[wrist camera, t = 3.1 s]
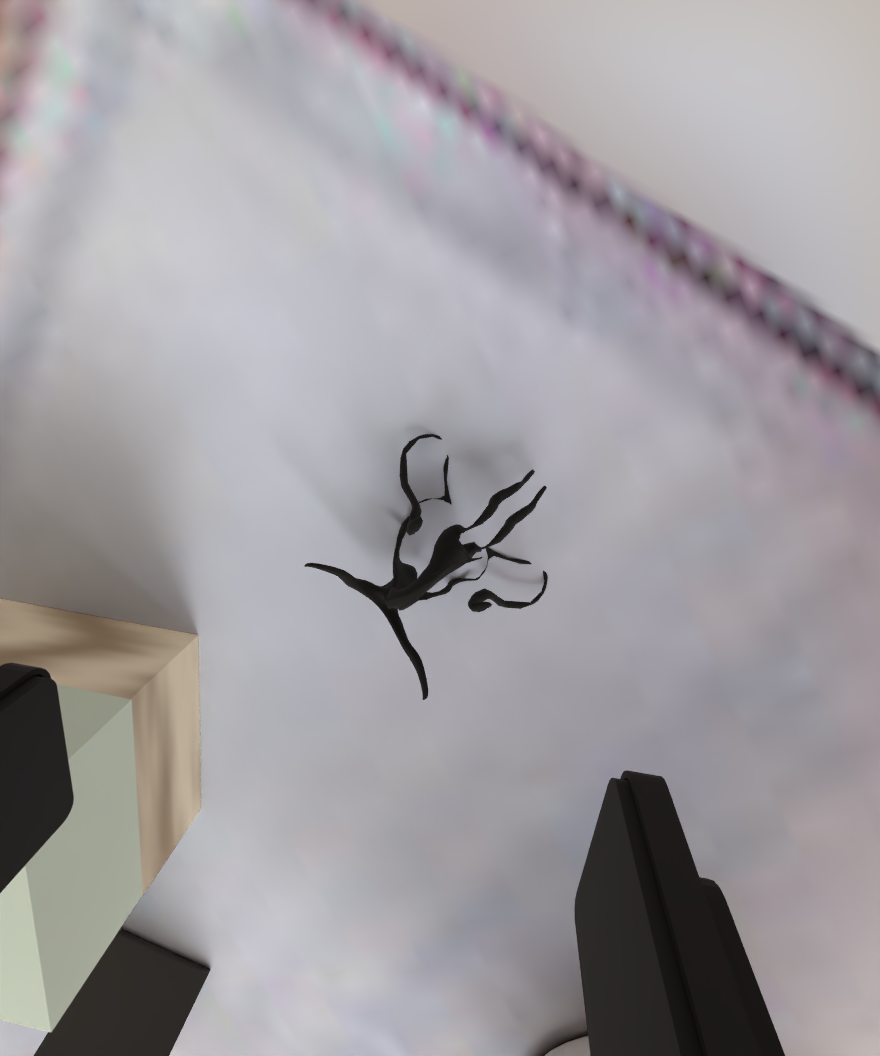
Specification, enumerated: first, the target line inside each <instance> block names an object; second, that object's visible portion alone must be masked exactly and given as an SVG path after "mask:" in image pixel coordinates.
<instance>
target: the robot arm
mask: <svg viewBox="0 0 880 1056" xmlns="http://www.w3.org/2000/svg"><path fill="white" fill-rule="evenodd" d="M73 802H74V795H73V788H72V781H71V775H70V768H69V761H68V755H67V748H66V742H65V735H64V728H63V722H62V715H61V709H60V702H59V695H58V689H57V685H56V682H55V681H54V680H53V679H51V676H50V673H49V672H48V671H47V670H46V669H43V668H39V667H34V666H28V665H22V664H17V663H5V664H3V665H1V666H0V893H1V892H2V891H3V890H4V889H5V888H6V886H7V885H8V884H9V883H10V882H11V881H12V880H13V879H14V877H15V876H16V875H17V874H18V873H19V872H20V871H21V870H22V868H23V867H24V866H25V865H26V864H27V863H28V862H29V861H30V860H31V858H32V857H33V856H34V855H35V854H36V853H37V852H38V851H39V849H40V848H41V847H42V846H43V845H44V844H45V843H46V842H47V841H48V839H49V838H50V837H51V836H52V835H53V834H54V833H55V832H56V830H57V829H58V828H59V827H60V826H61V825H62V824H63V823H64V821H65V820H66V819H67V817H68V815H69V814H70V812H71V809H72V807H73ZM575 925H576V934H577V942H578V951H579V960H580V969H581V977H582V986H583V995H584V1004H585V1013H586V1021H587V1030H588V1036H585V1037H581V1038H578V1039H575V1040H572V1041H569V1042H566V1043H564V1044H562V1045H560V1046H558V1047H557V1048H555V1049H553V1050H551V1051H550V1052H548V1053H547V1054H546V1055H545V1056H785V1054H784V1052H783V1049H782V1046H781V1044H780V1041H779V1039H778V1036H777V1033H776V1031H775V1028H774V1025H773V1023H772V1020H771V1018H770V1015H769V1012H768V1010H767V1007H766V1004H765V1002H764V999H763V997H762V994H761V991H760V989H759V986H758V983H757V981H756V978H755V976H754V973H753V970H752V968H751V965H750V962H749V960H748V957H747V955H746V952H745V949H744V947H743V944H742V941H741V939H740V936H739V934H738V931H737V928H736V926H735V923H734V920H733V918H732V915H731V913H730V910H729V907H728V905H727V902H726V900H725V897H724V895H723V893H722V891H721V889H720V888H719V886H718V885H717V884H716V883H715V882H714V881H713V880H710V879H706V878H701V877H699V875H698V872H697V870H696V867H695V864H694V861H693V858H692V855H691V852H690V850H689V847H688V844H687V841H686V838H685V835H684V832H683V829H682V827H681V824H680V821H679V818H678V815H677V812H676V809H675V806H674V804H673V801H672V798H671V795H670V792H669V789H668V786H667V784H666V782H665V780H664V779H663V778H662V777H661V776H655V775H650V774H644V773H638V772H633V771H624V772H623V773H622V776H621V778H620V779H616V778H611V779H610V781H609V783H608V786H607V790H606V793H605V797H604V800H603V804H602V807H601V810H600V814H599V817H598V821H597V824H596V828H595V831H594V835H593V838H592V841H591V845H590V848H589V852H588V855H587V859H586V862H585V866H584V869H583V873H582V876H581V879H580V883H579V886H578V890H577V894H576V899H575Z"/></svg>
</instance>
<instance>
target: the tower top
mask: <svg viewBox="0 0 880 1056" xmlns="http://www.w3.org/2000/svg"><path fill="white" fill-rule="evenodd" d="M56 685H57V689H58V695H59V702H60V709H61V715H62V722H63V728H64V735H65V742H66V748H67V755H68V761H69V768H70V775H71V781H72V788H73V795H74V802H73V807H72V809H71V812H70V814H69V815H68V817H67V819H66V820H65V821H64V823H63V824H62V825H61V826H60V827H59V828H58V829H57V830H56V832H55V833H54V834H53V835H52V836H51V837H50V838H49V839H48V841H47V842H46V843H45V844H44V845H43V846H42V847H41V848H40V849H39V851H38V852H37V853H36V854H35V855H34V856H33V857H32V858H31V860H30V861H29V862H28V863H27V864H26V865H25V866H24V867H23V868H22V870H21V871H20V872H19V873H18V874H17V875H16V876H15V877H14V879H13V880H12V881H11V882H10V883H9V884H8V885H7V886H6V888H5V889H4V890H3V891H2V892H1V893H0V1020H2V1021H6V1022H10V1023H14V1024H18V1025H22V1026H26V1027H30V1028H34V1029H38V1030H42V1031H46V1032H50V1033H51V1032H52V1031H53V1029H54V1028H55V1026H56V1025H57V1023H58V1022H59V1020H60V1019H61V1017H62V1016H63V1014H64V1013H65V1011H66V1010H67V1008H68V1007H69V1005H70V1004H71V1002H72V1001H73V999H74V998H75V996H76V995H77V993H78V992H79V990H80V989H81V987H82V986H83V984H84V982H85V981H86V979H87V978H88V976H89V975H90V973H91V972H92V970H93V969H94V967H95V966H96V964H97V963H98V961H99V960H100V958H101V957H102V955H103V954H104V952H105V951H106V949H107V948H108V946H109V945H110V943H111V942H112V940H113V939H114V937H115V936H116V934H117V933H118V931H119V930H120V928H121V927H122V925H123V924H124V922H125V921H126V919H127V918H128V916H129V915H130V913H131V912H132V910H133V909H134V907H135V906H136V904H137V903H138V901H139V899H140V898H141V896H142V895H143V889H142V870H141V853H140V836H139V819H138V802H137V784H136V767H135V750H134V733H133V716H132V700H131V699H127V698H122V697H117V696H112V695H107V694H102V693H97V692H92V691H87V690H82V689H78V688H73V687H68V686H63V685H58V684H56Z"/></svg>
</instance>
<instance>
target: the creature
mask: <svg viewBox="0 0 880 1056" xmlns="http://www.w3.org/2000/svg"><path fill="white" fill-rule="evenodd" d="M427 437H435V438H438V439H441V438H440V436H437V435H433V434H425V435H421V436H418V437H416V438H415V439H413V440H411V441H409V443H408V444H407V445H406V446H405V447H404V449H403V452H402V455H401V461H400V480H401V486H402V488H403V490H404V492H405V494H406V495H407V497H408V499H409V500H410V502H411V504H412V511H411V514H410V516H409V517H408V518H407V519H406V520H405V521H404V522H403V523H402V525H401V527H400V530H399V534H398V537H397V541H396V547H395V552H394V559H393V577H394V578H393V579H392V580H391V581H390V582H389V583H388V584H386V585H384V586H381V587H380V586H377V585H375V584H373V583H371V582H368V581H366V580H361V579H357V578H354V577H353V576H352V575H351V574H349V573H348V572H346V571H344V570H341V569H338V568H335V567H331V566H327V565H322V564H317V563H307V564H306V565H305V567H313V568H317V569H320V570H324V571H326V572H329V573H331V574H334V575H336V576H338V577H339V578H340V579H341V580H342V581H343V582H344V583H345V584H346V585H348V586H349V587H351V588H353V589H355V590H357V591H359V592H360V593H362V594H363V595H365V596H366V597H368V598H369V599H370V600H372V601H373V602H374V603H375V604H376V605H377V606H378V607H379V608H380V609H381V611H382V612H383V613H384V615H385V616H386V618H387V619H388V621H389V623H390V625H391V626H392V628H393V630H394V632H395V634H396V636H397V638H398V640H399V642H400V644H401V646H402V647H403V649H404V651H405V652H406V654H407V655H408V657H409V658H410V660H411V662H412V663H413V665H414V667H415V669H416V671H417V673H418V677H419V680H420V683H421V687H422V692H423V700H425V699H426V698H427V697H428V685H427V679H426V675H425V671H424V667H423V663H422V660H421V658H420V656H419V655H418V653H417V652H416V650H415V649H414V648H413V647H412V645H411V644H410V642H409V640H408V638H407V636H406V633H405V630H404V627H403V624H402V621H401V619H400V617H399V614H398V609H399V610H404V609H406V608H408V607H409V606H411V605H412V604H414V603H415V602H417V601H418V600H427V599H429V598H432V597H436V596H439V595H443V594H446V593H448V592H449V591H450V590H451V588H452V587H453V586H454V585H455V584H457V583H459V582H463V581H472V580H478V579H479V578H480V577H481V576H482V574H483V573H484V572H485V570H486V568H487V566H486V568H485V570H484V571H483V572H482V574H481V575H480V576H479V577H478V578H476V579H464V578H457V579H453V580H451V581H450V582H449V583H448V585H447V586H446V587H445V588H444V589H442V590H441V591H438V592H434V593H430V592H427V591H428V590H429V589H430V588H431V587H433V586H434V585H435V584H436V583H437V582H439V581H440V580H441V579H443V578H444V577H445V576H447V575H448V574H450V573H451V572H453V571H454V570H456V569H458V568H459V567H461V566H463V565H464V564H466V563H468V562H471V561H474V560H478V559H481V558H482V557H480V558H472V556H473V555H474V554H475V553H476V552H480V551H481V550H482V549H484V548H486V551H487V555H488V560H489V559H490V558H491V557H493V556H496V557H499V558H503V559H506V560H510V561H513V562H516V563H521V564H532V563H530V562H529V561H525V560H519V559H512V558H507V557H505V556H503V555H501V554H498V553H496V552H494V551H492V550H491V549H489V548H488V547H490V546H492V545H494V544H497V543H499V542H501V541H502V540H503V539H504V538H505V537H506V536H507V535H508V534H509V533H510V531H511V530H512V529H513V528H514V526H515V525H516V524H517V523H518V522H520V521H521V520H523V519H524V518H525V517H526V516H527V515H528V514H529V513H531V512H532V511H533V509H534V508H535V506H536V504H537V502H538V500H539V499H540V497H541V496H542V494H543V493H544V491H545V490H546V488H547V487H546V486H543V487H542V489H541V490H540V491H539V492H538V493H537V494H536V496H535V498H534V499H533V500H532V502H531V503H530V504H529V505H527V506H525V507H524V508H522V509H520V510H519V511H517V512H516V513H514V514H513V515H511V516H510V517H509V518H508V519H507V520H506V522H505V524H504V526H503V527H502V528H501V530H500V531H499V532H498V534H497V535H496V536H495V537H494V539H493V540H492V541H491V542H490V543H489V544H488V545H486V546H485V547H482V548H481V547H479V546H478V545H477V544H476V543H475V542H472V543H468V544H464V545H462V544H461V542H460V541H459V538H460V535H461V533H464V532H465V531H467V530H469V529H471V528H474V527H476V526H478V525H481V524H483V523H484V522H485V521H486V520H487V519H489V518H490V517H491V516H492V515H493V513H494V512H495V511H496V509H497V508H498V505H499V504H500V503H501V502H502V501H503V500H505V499H506V498H508V497H510V496H511V495H513V494H514V493H515V492H516V491H518V490H519V489H520V488H521V487H522V486H523V485H524V484H525V483H526V482H527V481H528V480H529V479H530V477H531V476H532V475H533V474H534V472H535V471H534V470H531V471H530V472H529V473H528V474H527V475H526V476H525V477H524V478H523V480H522V481H521V482H518V483H516V484H514V485H512V486H510V487H508V488H506V489H503V490H501V491H499V492H497V493H496V494H495V495H493V496H492V497H491V498H490V501H489V504H488V506H487V507H486V509H485V510H484V511H483V513H482V514H481V516H480V517H479V518H478V519H477V520H476V521H475V523H474V524H473V525H471V526H470V527H468V528H464V527H463V526H461V525H457V524H456V525H453V526H451V527H449V528H447V529H445V530H444V531H443V532H442V533H441V535H440V536H439V538H438V540H437V542H436V544H435V546H434V551H433V555H432V558H431V560H430V563H429V565H428V566H427V568H426V569H425V570H424V571H423V572H422V574H421V575H420V576H419V577H418V579H417V572H416V569H415V568H414V567H413V566H411V565H408V564H404V563H402V562H401V561H400V558H399V549H400V546H401V543H402V539H403V537H404V535H405V533H406V532H407V533H408V534H409V535H413V534H415V532H417V531H418V530H419V529H420V527H421V525H422V522H423V520H422V518H421V517H420V515H421V508H420V505H419V503H421V502H424V501H427V500H430V499H425V500H423V501H420V502H418V500H417V499H416V497H415V495H414V493H413V492H412V490H411V488H410V486H409V484H408V478H407V460H406V453H407V452H408V451H409V450H410V449H411V447H412V446H413V445H414V444H415V443H416V442H417V440H418V439H421V438H427ZM448 460H449V457H448V455H447V458H446V460H445V465H444V481H445V496H443V497H442V498H431V499H440V500H444V501H445V502H448V503H450V504H451V500H450V497H449V491H448V486H447V481H446V480H447V470H448ZM487 564H488V561H487ZM543 574H544V585H543V588H542V591H541V592H540V593H539V594H538V595H537V596H536V597H535V598H534V599H533V600H532V601H531V602H515V601H504V600H502V599H501V598H499V597H498V596H497V595H495V594H494V593H493V592H491V591H489V590H487V589H485V588H484V589H482V590H480V591H478V592H475V593H474V594H473V595H472V597H471V599H470V600H469V602H468V606H469V608H470V609H471V610H472V611H474V612H481V611H484V610H486V609H487V608H489V607H490V606H491V605H492V604H491V603H490V602H483V601H485V600H486V599H491V600H493V601H494V602H495V603H496V604H497V605H498V606H502V607H506V608H519V609H521V608H523V607H526V606H529V605H532V604H534V603H535V602H537V601H538V600H539V599H540V597H541V596H542V595H543V593H544V591H545V589H546V585H547V578H548V577H547V574H546V572H544V571H543Z"/></svg>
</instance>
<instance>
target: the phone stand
mask: <svg viewBox="0 0 880 1056" xmlns="http://www.w3.org/2000/svg"><path fill="white" fill-rule="evenodd" d="M209 972H210V970H209V969H207V968H205V967H203V966H200V965H198V964H196V963H194V962H192V961H190V960H187V959H185V958H183V957H181V956H179V955H176V954H174V953H172V952H170V951H168V950H165V949H163V948H161V947H159V946H157V945H154V944H152V943H150V942H148V941H146V940H143V939H141V938H139V937H137V936H135V935H132V934H130V933H128V932H126V931H124V930H121V929H120V930H119V931H118V933H117V934H116V936H115V937H114V939H113V940H112V942H111V943H110V945H109V946H108V948H107V949H106V951H105V952H104V954H103V955H102V957H101V958H100V960H99V961H98V963H97V964H96V966H95V967H94V969H93V970H92V972H91V973H90V975H89V976H88V978H87V979H86V981H85V982H84V984H83V986H82V987H81V989H80V990H79V992H78V993H77V995H76V996H75V998H74V999H73V1001H72V1002H71V1004H70V1005H69V1007H68V1008H67V1010H66V1011H65V1013H64V1014H63V1016H62V1017H61V1019H60V1020H59V1022H58V1023H57V1025H56V1026H55V1028H54V1029H53V1031H52V1032H51V1033H50V1032H48V1034H47V1035H46V1037H45V1038H44V1040H43V1042H42V1043H41V1045H40V1046H39V1048H38V1050H37V1051H36V1053H35V1054H34V1056H169V1055H170V1052H171V1050H172V1048H173V1046H174V1044H175V1042H176V1040H177V1038H178V1036H179V1034H180V1032H181V1030H182V1028H183V1026H184V1023H185V1021H186V1019H187V1017H188V1015H189V1013H190V1011H191V1009H192V1007H193V1005H194V1003H195V1001H196V999H197V996H198V994H199V992H200V990H201V988H202V986H203V984H204V982H205V980H206V978H207V976H208V974H209Z"/></svg>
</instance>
